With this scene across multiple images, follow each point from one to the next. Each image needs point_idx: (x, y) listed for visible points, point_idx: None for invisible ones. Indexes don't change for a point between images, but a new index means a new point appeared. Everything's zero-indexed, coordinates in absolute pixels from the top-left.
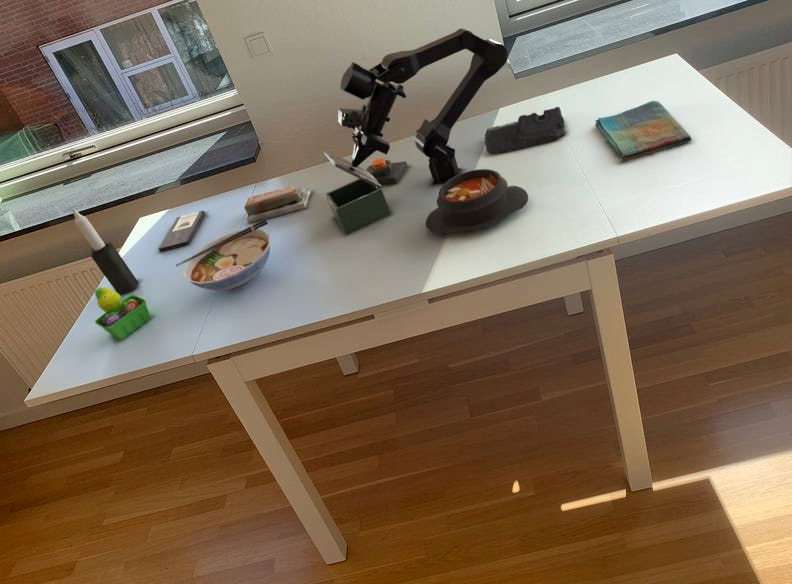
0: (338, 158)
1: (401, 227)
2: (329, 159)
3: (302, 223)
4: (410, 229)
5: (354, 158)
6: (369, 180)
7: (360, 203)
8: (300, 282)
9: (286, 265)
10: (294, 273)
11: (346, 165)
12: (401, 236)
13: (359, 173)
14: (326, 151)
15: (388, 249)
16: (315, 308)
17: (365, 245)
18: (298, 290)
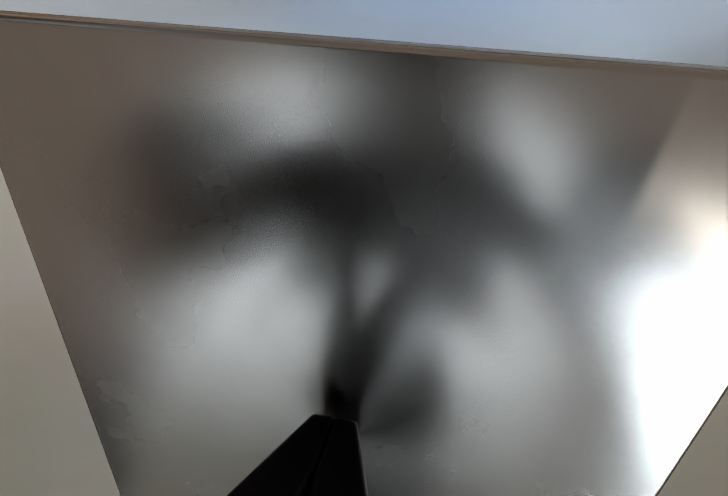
0: (502, 289)
1: (71, 442)
2: (309, 35)
3: None
4: (7, 461)
5: (243, 493)
6: (108, 453)
7: None
8: (188, 18)
9: (337, 15)
10: (259, 20)
11: (237, 302)
12: (12, 394)
13: (159, 406)
14: (704, 73)
15: (3, 300)
16: (22, 11)
17: None
18: (156, 3)
